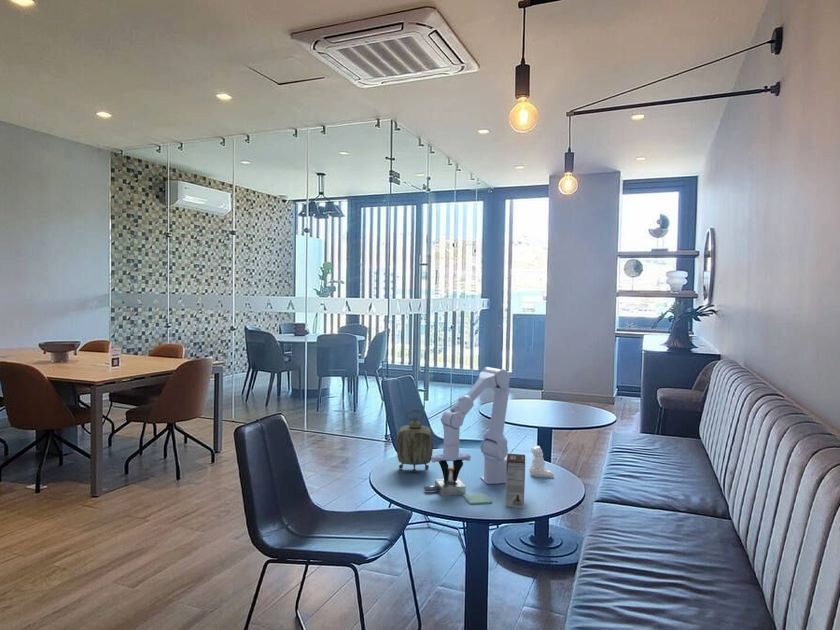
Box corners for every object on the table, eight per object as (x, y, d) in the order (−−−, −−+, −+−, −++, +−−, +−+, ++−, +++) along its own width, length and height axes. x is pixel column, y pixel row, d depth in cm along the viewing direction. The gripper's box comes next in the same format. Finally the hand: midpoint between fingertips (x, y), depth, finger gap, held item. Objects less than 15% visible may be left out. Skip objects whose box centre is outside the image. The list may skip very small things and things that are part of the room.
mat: (483, 494, 196) (484, 493, 196) (492, 503, 189) (492, 501, 189) (462, 496, 194) (462, 494, 194) (470, 504, 187) (470, 502, 187)
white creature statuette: (555, 477, 218) (556, 448, 217) (537, 480, 214) (538, 450, 213) (540, 470, 226) (541, 442, 226) (523, 473, 222) (524, 444, 222)
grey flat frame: (457, 485, 205) (458, 478, 205) (465, 494, 196) (465, 486, 196) (421, 487, 202) (422, 480, 202) (428, 496, 193) (428, 488, 193)
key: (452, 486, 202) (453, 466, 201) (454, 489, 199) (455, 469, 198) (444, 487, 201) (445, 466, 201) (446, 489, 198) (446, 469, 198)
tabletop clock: (431, 467, 226) (432, 408, 225) (432, 475, 217) (434, 412, 216) (396, 467, 225) (397, 407, 224) (396, 474, 216) (397, 412, 215)
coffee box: (505, 497, 195) (507, 452, 194) (523, 498, 193) (525, 454, 193) (505, 506, 186) (506, 460, 185) (524, 508, 184) (525, 461, 184)
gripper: (466, 440, 205) (465, 475, 205) (429, 441, 201) (428, 477, 202) (472, 445, 198) (471, 482, 198) (434, 446, 194) (433, 484, 195)
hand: (450, 480), depth 199 cm, fingers closed on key, 3 cm apart
